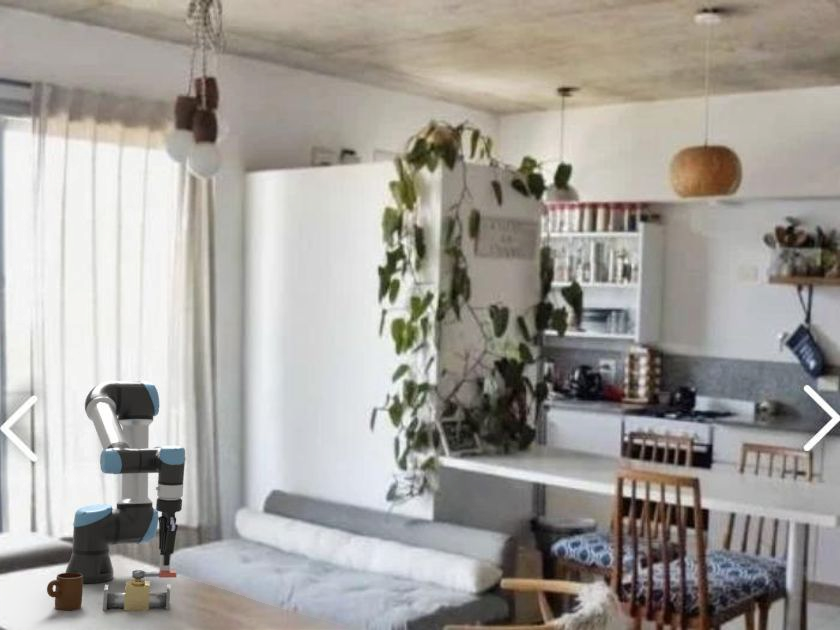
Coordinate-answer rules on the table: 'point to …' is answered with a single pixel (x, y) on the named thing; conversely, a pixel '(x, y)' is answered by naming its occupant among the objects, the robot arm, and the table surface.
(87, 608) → the table surface
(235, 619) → the table surface
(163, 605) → the valve pipe
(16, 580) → the table surface
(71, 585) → the mug
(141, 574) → the lever
